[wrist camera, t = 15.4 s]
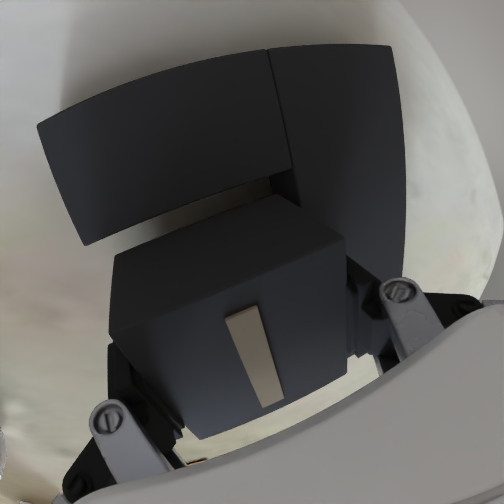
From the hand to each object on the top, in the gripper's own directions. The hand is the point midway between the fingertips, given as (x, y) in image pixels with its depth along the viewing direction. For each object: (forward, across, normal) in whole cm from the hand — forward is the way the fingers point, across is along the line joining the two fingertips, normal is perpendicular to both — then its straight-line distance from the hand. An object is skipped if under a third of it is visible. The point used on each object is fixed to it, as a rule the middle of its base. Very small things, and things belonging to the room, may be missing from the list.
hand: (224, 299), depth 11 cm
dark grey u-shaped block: (+3, -3, 0) cm, 4 cm away
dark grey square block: (+1, 0, 0) cm, 1 cm away
